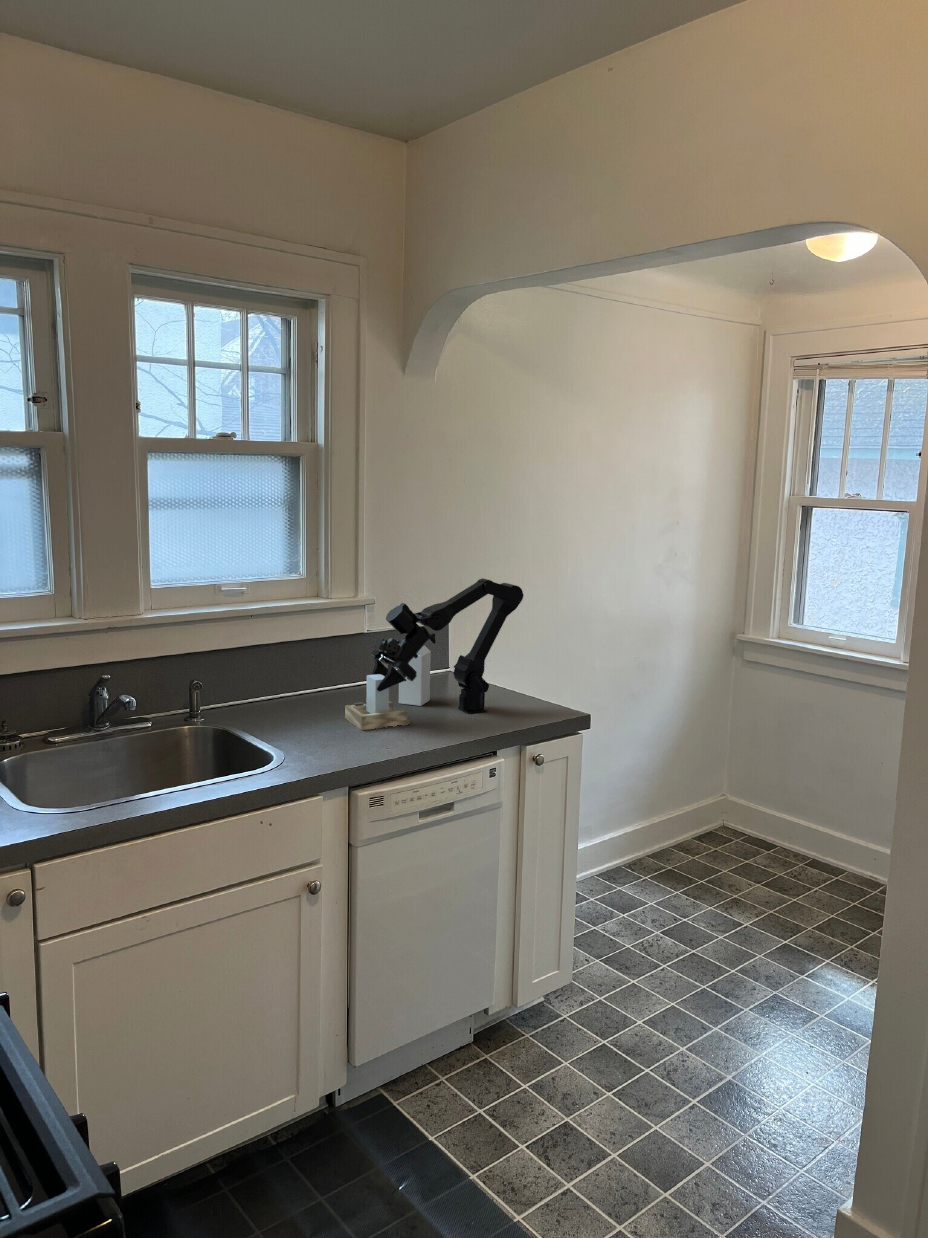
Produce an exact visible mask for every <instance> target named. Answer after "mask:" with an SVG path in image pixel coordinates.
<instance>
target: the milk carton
mask: <svg viewBox="0 0 928 1238" xmlns="http://www.w3.org/2000/svg"><path fill="white" fill-rule="evenodd" d="M431 654H432V651H431V650H430V649H429V648H428V647H427V646H426V644H425V645H424V646H423V647H422V648H421V649H420V650H419V651H418V653H417V655H418V657H417V658H414V657H413V658H412V660H411V661H410V662H409V663H408V664H409V665H410V666H411V667H412V668H413V669H414V670H415V671H416V672H417V677H416V678H415V679H414V680H413V681H410V680H408V679H407V677H406V678H405V679H406V681H403V682H401V683H398V704H403V705H412V706H418V707H422V706H423V705H425V704H426V703H428V702H429V701H430V698H431V697H430V696H431V692H430V691H431V690H430V689H431V660H432V659H431V658H432V657H431Z"/></svg>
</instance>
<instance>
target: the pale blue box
mask: <svg viewBox="0 0 928 1238" xmlns="http://www.w3.org/2000/svg"><path fill="white" fill-rule="evenodd" d="M384 677H385V676H383V675H381V674H375V675H371V674H367V675H366V700H365V702H366V703H365V704H366V711H368V712H369V713H371V714H373V713H382V712H389V701H390V687H389V688H387V689H385V690H382V691H380V692H379V691H378V690H377V688H378V686H379V684H380V683H381V682H382V680H383V679H384Z"/></svg>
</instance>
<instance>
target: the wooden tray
mask: <svg viewBox="0 0 928 1238" xmlns="http://www.w3.org/2000/svg"><path fill="white" fill-rule="evenodd" d="M393 707H394V703H393V701H391V700H389V712H382V713H373V714H371V713H369V712H368V711H366V703H364V702H362V701H361V702H354V703H353V704H351V705H350V704H347V705H344V708H345V709H344V712H345V713H344V714H345V715H344V719H345V720H347V721H348V722H349V723H351V724H352V725H353V726H355V727H357V728H358V729H359V730H361V731H365V730H373V729H375V728H376V729H383V727H385V728H388V727H387V726H393V727H398V726H397V725H402V726H408V724H409V725H410V722H411V721H410V719H408V710H406V709H402V710H393ZM376 729H375V730H376Z"/></svg>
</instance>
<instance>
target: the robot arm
mask: <svg viewBox="0 0 928 1238" xmlns="http://www.w3.org/2000/svg"><path fill="white" fill-rule="evenodd" d="M487 595H490V596H492V599H491V600H492V603H491V605H492V607H491V611H490V612H489V614H488V616H487V618H486V620H485V622H484V624H483V626H482V627H481V630H480V632H479V633H478V636H477V638H476V640H475V641H474V643H473V646H472V648H471V649H470V651H469V652H468V653H467V654H466V655H465V656H464V655H462V654H460V655H459V657H458V659H457V661H456V663H455V664H454V665H453V668H454V670H453V673H452V674H453V677H454V680H455V681H457V684H458V687H460V694H459V698H458V699H459V700H458V702H459V703H458V706H457V709H458V710H460V711H462V712H465V713H467V714H475V713H484V712H488V709H487V708H485V701H486V700H485V699H486V698H485V696H486V693H487V692H488V691H489V687H490V684H489V682H487V681H486V680H485V679H484V677H483V676H484V674H485V664H486V663H485V662H486V661H485V660H486V659H487V656H488V654H489V653H490V651H491V649H492V647H493V645H494V643H495V641H496V639H497V637H498V636H499V633H500V631H501V629H502V627H503V626H504V623H505V621H506V619H507V617H508V616H509V615H510V614H512V613H513V612H514V611H515V610H517V608H518V607H519V605H520V604H521V603H522V601H523V600H524V592H523V589H522V588H521V586H519V585H515V584H513V583H509V582H501V583H497V582H495V581H492V580H490V579H487V578H479V579H478V580H477V581H476V582H475V583H473V584H470V586H468V587H467V588H465V589H463V590H462V591H460V592H458V593H457V594H456V595H454V596H452V597H450V598H449V599H447V600H446V601H443V602H439V603H436V604H432V605H429V606H427V607H424V608H423V609H422V610H421V611H418V612H415V613H414V612H413V611H412V610H411V609H410V607H409V606H408V605H407V604H406V603H404V602H401V603H400V604H399V605H397V606H395V607H394V608H392V609H390V610H389V611H388V613H386V617H385V620H386V622H387V623H388V624H390V626H391V627H392V628H393V629H395V630H396V632H397V633H398V634H399V635H403V634H404V636H403V637H402V638H401V639H394V638H392V637H390V638H388V639H386V638H384V637H381V636H378V635H377V636H376V638H375V641H374V644H373V646H372V647H374V648H375V649H374V650H373V651H372V652H371V653H370V655H371V656H372V657H373V661H374V667H373V670H372V672H371V674H370V675H375V674H381V675H383V676H385V677H384V679H383V680H382V682H381V683H380V684H379V686H378V688H377V690H378V691H379V692H380V691H382V690H385V689H387V688H389V689H390V688H391V687H394V686H395V685H399V683H401V682H403V681H406V679H405V678H406V677H407V679H408V680H410V681H413V680H414V679H415V678H416V677H417V672H416V671H415V670H414V669H413V668H412V667H411V666H410V665H409V664H408V663H409V662H410V661H411V660H412V658H413V657H414V658H417V657H418V655H417V653H418V651H419V650H420V649H421V648H422V647H423V646H424V645H425V646H426V644H427V642H429V643H431V644H434V645H435V644H436V643H437V642H436V634H435V633H434V632H430V631H429V630H428V629H430V630H432V631H437V632H438V631H441V630H443V629H444V628H445V627H447V626H448V625H449V624H450V623H451V622H452V620H453V618H454V617H455V616H456V615H457V614H458V613H460V612H462V611H463V610H466V609H467V608H468V607H470V606H471V605H473V604H475V603H477V601H479V600H480V599H483V598H484V597H485V596H487ZM419 624H421V625H422V626H420V625H419ZM427 628H428V629H427Z"/></svg>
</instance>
